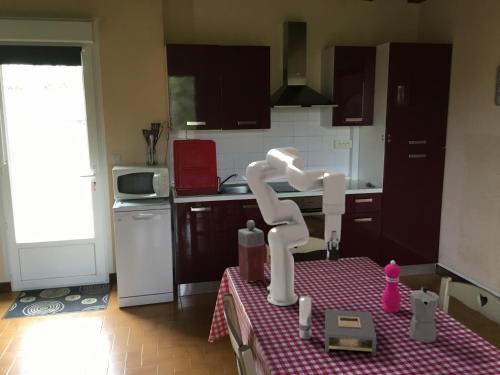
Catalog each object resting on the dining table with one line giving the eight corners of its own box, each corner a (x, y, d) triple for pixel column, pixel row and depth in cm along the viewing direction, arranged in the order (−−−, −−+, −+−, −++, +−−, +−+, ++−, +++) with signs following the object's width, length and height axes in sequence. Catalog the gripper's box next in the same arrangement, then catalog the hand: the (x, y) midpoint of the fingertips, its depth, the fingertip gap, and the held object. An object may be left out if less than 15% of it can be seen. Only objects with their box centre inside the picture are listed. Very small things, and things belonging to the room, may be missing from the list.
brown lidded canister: (268, 278, 208) (268, 220, 203) (247, 283, 203) (246, 223, 199) (259, 272, 216) (259, 216, 211) (239, 276, 211) (237, 219, 206)
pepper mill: (401, 314, 171) (404, 264, 167) (382, 312, 172) (384, 263, 169) (399, 305, 178) (401, 257, 174) (380, 304, 179) (382, 257, 176)
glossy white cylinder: (296, 335, 156) (296, 298, 154) (305, 332, 158) (305, 295, 156) (304, 340, 153) (304, 302, 150) (314, 336, 155) (314, 299, 153)
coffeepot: (439, 347, 146) (442, 296, 143) (408, 343, 149) (411, 293, 146) (434, 326, 161) (437, 278, 158) (407, 322, 164) (409, 276, 161)
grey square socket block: (325, 326, 162) (325, 308, 161) (370, 328, 160) (370, 311, 159) (325, 352, 145) (325, 333, 144) (375, 356, 142) (376, 336, 141)
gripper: (321, 202, 161) (321, 247, 165) (323, 213, 145) (322, 264, 148) (342, 202, 161) (341, 248, 164) (346, 214, 144) (345, 264, 147)
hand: (332, 255), depth 156 cm, fingers open, 9 cm apart
